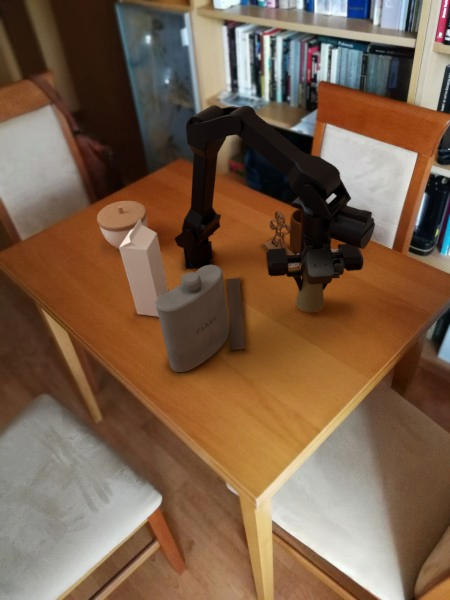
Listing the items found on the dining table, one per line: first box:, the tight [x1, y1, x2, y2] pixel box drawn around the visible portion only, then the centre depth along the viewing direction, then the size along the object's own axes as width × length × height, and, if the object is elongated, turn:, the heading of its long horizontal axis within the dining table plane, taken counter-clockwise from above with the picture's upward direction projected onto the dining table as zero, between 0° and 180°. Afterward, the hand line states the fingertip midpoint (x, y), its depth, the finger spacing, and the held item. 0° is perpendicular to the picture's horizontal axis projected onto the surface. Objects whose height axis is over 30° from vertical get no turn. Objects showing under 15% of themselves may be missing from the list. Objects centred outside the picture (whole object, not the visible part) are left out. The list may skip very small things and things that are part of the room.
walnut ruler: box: [226, 277, 246, 352], centre depth 105 cm, size 3×22×1 cm, turn 2°
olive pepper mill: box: [295, 265, 325, 313], centre depth 100 cm, size 6×6×11 cm
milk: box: [118, 219, 170, 318], centre depth 101 cm, size 6×6×22 cm
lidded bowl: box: [96, 200, 149, 250], centre depth 124 cm, size 13×13×11 cm
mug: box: [289, 208, 333, 254], centre depth 116 cm, size 12×8×9 cm, turn 39°
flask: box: [155, 264, 230, 373], centre depth 91 cm, size 15×6×20 cm, turn 136°
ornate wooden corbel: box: [263, 209, 296, 255], centre depth 116 cm, size 9×4×12 cm, turn 30°
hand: (311, 290), depth 101 cm, fingers closed on olive pepper mill, 4 cm apart
